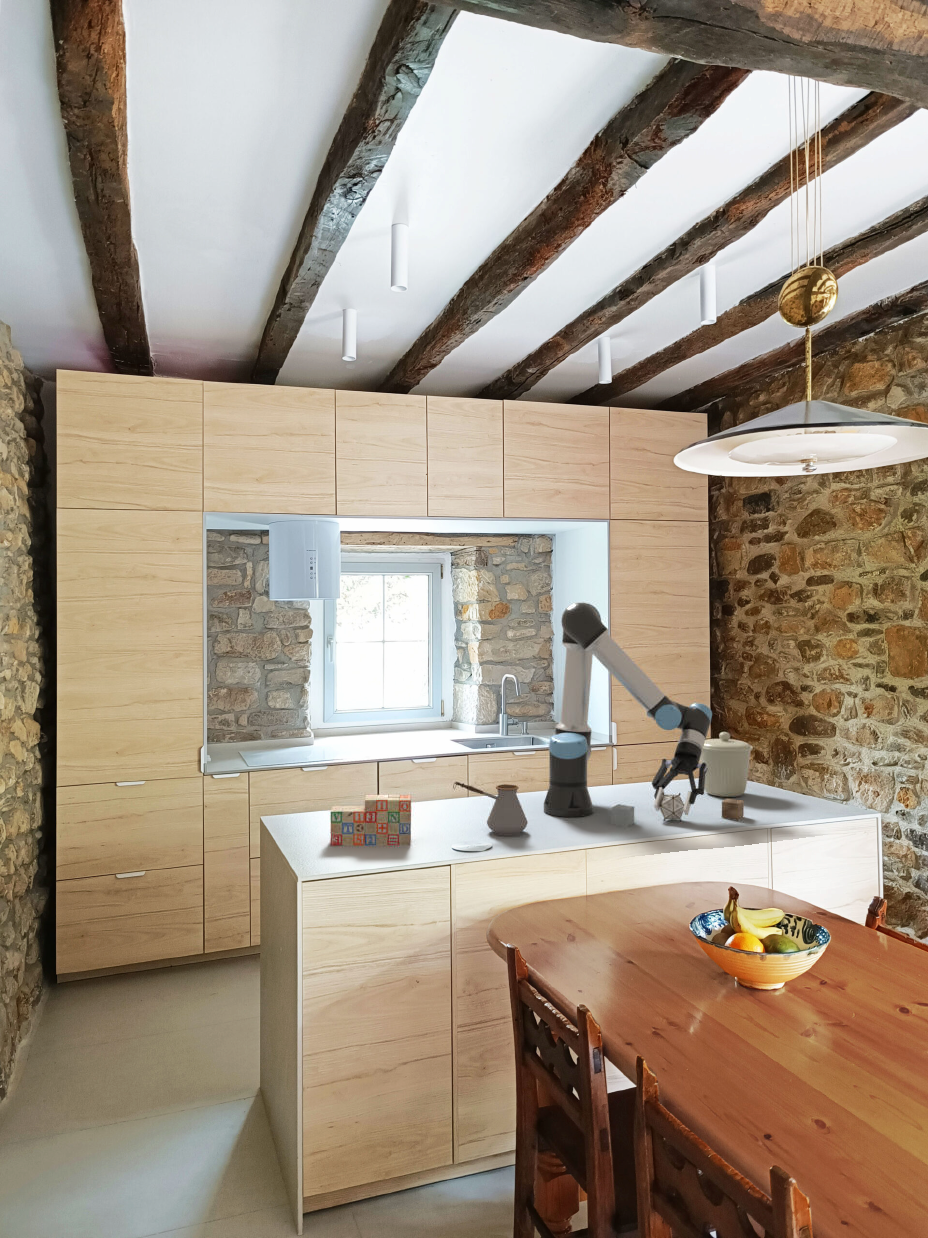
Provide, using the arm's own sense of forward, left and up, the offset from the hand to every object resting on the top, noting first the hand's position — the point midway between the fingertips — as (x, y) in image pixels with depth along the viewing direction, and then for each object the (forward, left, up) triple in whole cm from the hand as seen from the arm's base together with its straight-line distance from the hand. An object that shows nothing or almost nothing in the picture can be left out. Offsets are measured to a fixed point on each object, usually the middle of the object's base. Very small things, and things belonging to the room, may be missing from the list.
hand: (670, 810), depth 246 cm
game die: (-1, +3, -4) cm, 5 cm away
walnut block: (+13, +17, -4) cm, 22 cm away
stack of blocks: (-59, -65, -4) cm, 88 cm away
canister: (+1, +47, -4) cm, 47 cm away
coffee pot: (-37, -40, -4) cm, 55 cm away
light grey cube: (-11, -9, -4) cm, 15 cm away
